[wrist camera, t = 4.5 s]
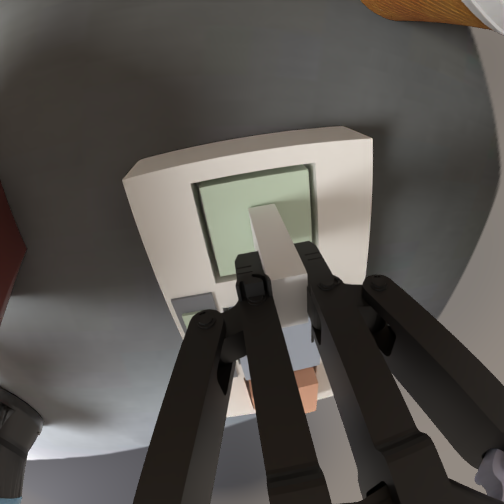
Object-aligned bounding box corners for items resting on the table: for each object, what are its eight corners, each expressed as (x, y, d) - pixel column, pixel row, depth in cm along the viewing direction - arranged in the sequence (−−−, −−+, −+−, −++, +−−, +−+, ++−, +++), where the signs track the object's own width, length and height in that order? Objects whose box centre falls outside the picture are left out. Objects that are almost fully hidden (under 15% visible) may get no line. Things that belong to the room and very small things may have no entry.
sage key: (219, 255, 21) (220, 276, 19) (200, 174, 18) (199, 188, 15) (302, 239, 21) (312, 258, 19) (296, 158, 18) (308, 169, 16)
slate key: (242, 356, 24) (245, 380, 22) (228, 306, 21) (231, 332, 19) (311, 342, 24) (319, 364, 22) (311, 290, 21) (322, 314, 19)
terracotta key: (255, 403, 29) (259, 422, 27) (247, 374, 26) (251, 397, 24) (310, 391, 29) (316, 410, 27) (311, 361, 26) (318, 383, 24)
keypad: (220, 387, 33) (223, 421, 29) (139, 159, 18) (119, 182, 14) (334, 364, 33) (346, 395, 29) (342, 126, 18) (376, 140, 14)
